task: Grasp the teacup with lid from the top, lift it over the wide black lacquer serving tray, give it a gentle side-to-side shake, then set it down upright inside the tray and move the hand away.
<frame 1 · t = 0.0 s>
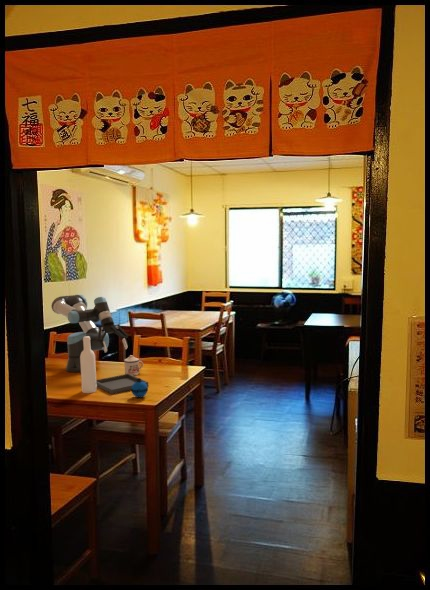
hand: (116, 350, 303), 15 cm above the table, tool tilted 35°, fingers open, 13 cm apart
serving tray: (120, 385, 281), on the table
ornament: (139, 397, 259), on the table
teacup with lid: (134, 374, 306), on the table
bottle: (89, 391, 272), on the table
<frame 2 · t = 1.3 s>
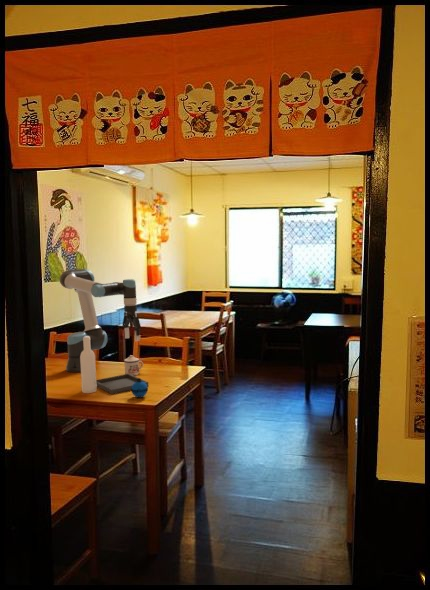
hand: (132, 339, 304), 21 cm above the table, tool pointing down, fingers open, 13 cm apart
nothing on the table moved.
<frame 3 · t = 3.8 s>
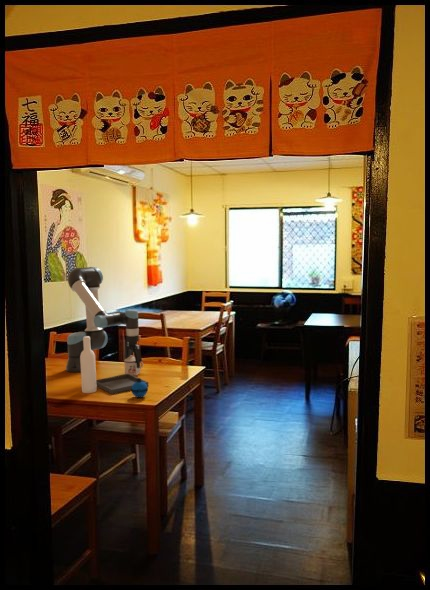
hand: (134, 371, 306), 2 cm above the table, tool pointing down, fingers closed on teacup with lid, 9 cm apart
teacup with lid: (134, 374, 306), on the table, touching gripper
everything else where it was.
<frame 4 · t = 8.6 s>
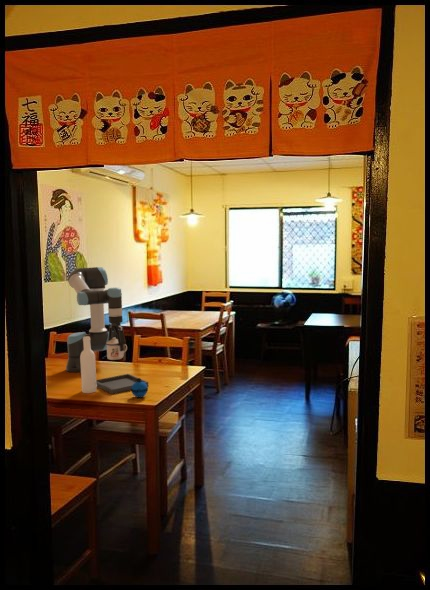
hand: (117, 355, 281), 17 cm above the table, tool pointing down, fingers closed on teacup with lid, 9 cm apart
teacup with lid: (117, 358, 282), point 15 cm above the table, touching gripper
everything else where it was.
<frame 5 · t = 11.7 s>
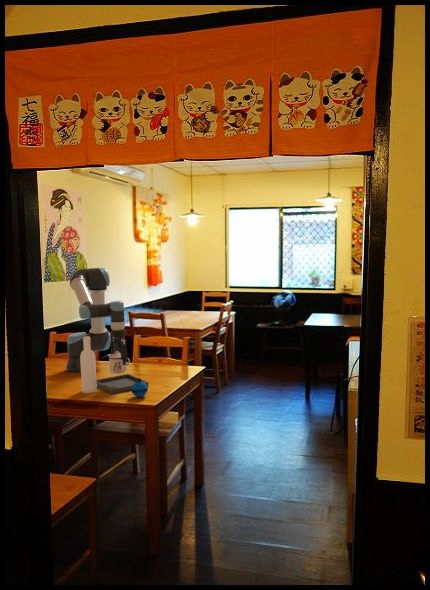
hand: (120, 368, 280), 10 cm above the table, tool pointing down, fingers closed on teacup with lid, 9 cm apart
teacup with lid: (120, 371, 280), point 8 cm above the table, touching gripper
everything else where it was.
when the fingers open (3 cm above the table, at t = 13.5 s): teacup with lid moves 5 cm, resting on serving tray.
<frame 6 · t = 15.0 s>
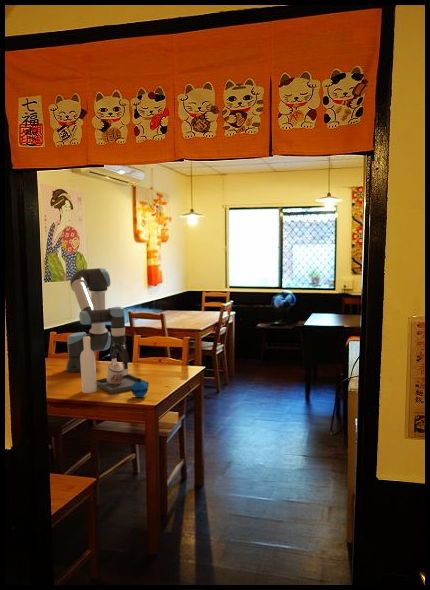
hand: (119, 372, 280), 8 cm above the table, tool pointing down, fingers open, 13 cm apart
teacup with lid: (116, 380, 285), point 2 cm above the table, touching gripper, serving tray
everything else where it was.
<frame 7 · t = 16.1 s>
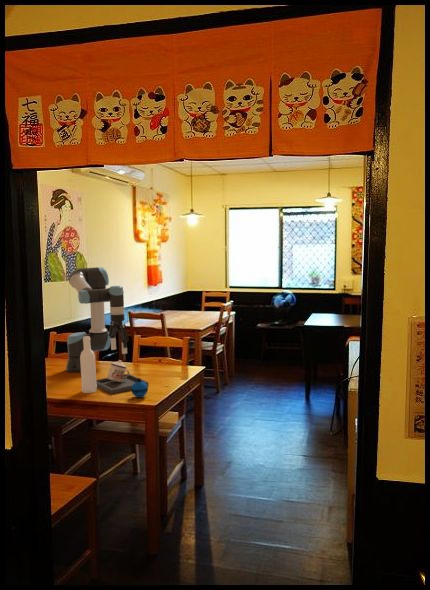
hand: (119, 351, 279), 19 cm above the table, tool pointing down, fingers open, 13 cm apart
teacup with lid: (116, 381, 285), point 1 cm above the table, touching serving tray
everything else where it was.
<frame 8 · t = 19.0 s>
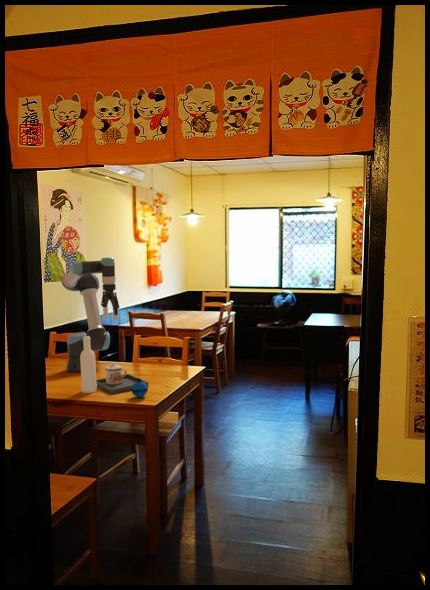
hand: (110, 319, 298), 35 cm above the table, tool pointing down, fingers open, 13 cm apart
teacup with lid: (116, 382, 285), resting on serving tray
everything else where it was.
at the end: teacup with lid inside the target area on the serving tray (5.4 cm from its centre), point 0.4 cm above the serving tray's base; teacup with lid tilted 0°; the gripper is holding nothing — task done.
